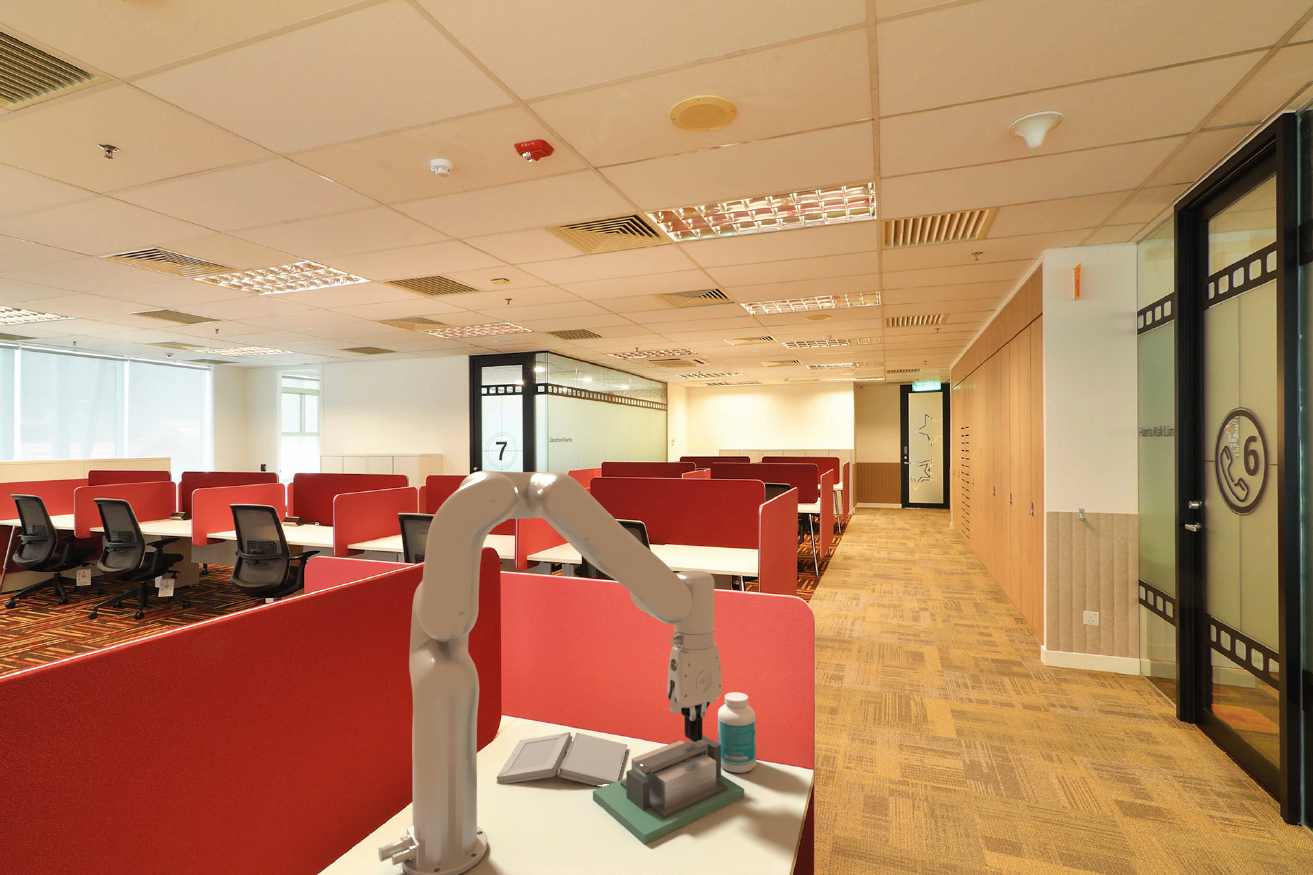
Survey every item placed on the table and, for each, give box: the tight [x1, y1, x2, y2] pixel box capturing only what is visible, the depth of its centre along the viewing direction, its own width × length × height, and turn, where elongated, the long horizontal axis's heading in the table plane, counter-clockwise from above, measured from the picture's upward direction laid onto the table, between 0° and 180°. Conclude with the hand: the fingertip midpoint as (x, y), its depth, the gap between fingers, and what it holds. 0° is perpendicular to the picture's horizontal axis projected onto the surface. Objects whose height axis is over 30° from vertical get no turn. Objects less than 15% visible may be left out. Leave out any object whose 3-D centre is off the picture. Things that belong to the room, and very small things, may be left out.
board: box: [592, 734, 745, 845], centre depth 111 cm, size 22×16×7 cm
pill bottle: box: [717, 691, 757, 774], centre depth 123 cm, size 8×7×14 cm
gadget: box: [495, 731, 628, 786], centre depth 124 cm, size 23×15×4 cm, turn 85°
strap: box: [635, 740, 709, 775], centre depth 112 cm, size 15×3×3 cm, turn 127°
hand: (693, 737), depth 115 cm, fingers closed
